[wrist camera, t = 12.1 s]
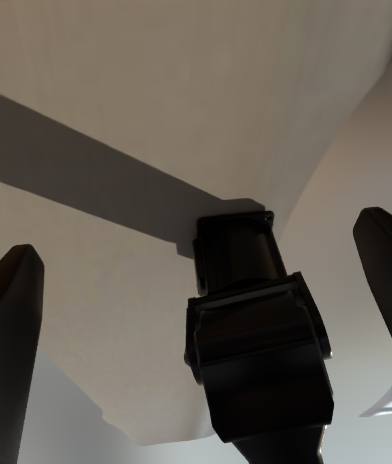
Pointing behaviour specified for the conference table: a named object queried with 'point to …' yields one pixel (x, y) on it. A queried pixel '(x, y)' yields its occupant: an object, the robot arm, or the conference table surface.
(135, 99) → the conference table surface
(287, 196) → the conference table surface
